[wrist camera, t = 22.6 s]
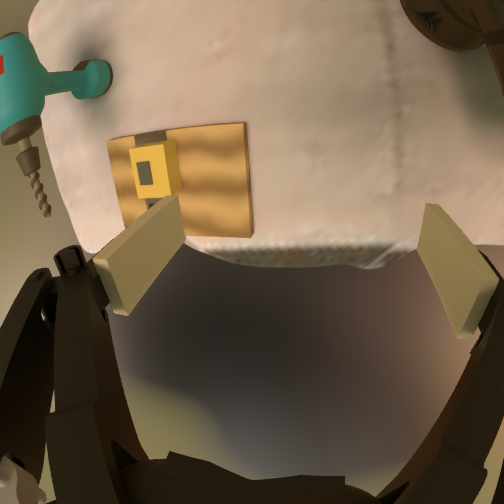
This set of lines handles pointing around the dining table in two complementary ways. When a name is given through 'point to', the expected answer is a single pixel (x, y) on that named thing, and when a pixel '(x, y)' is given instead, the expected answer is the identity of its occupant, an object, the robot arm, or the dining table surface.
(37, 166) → the power drill
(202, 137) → the subfloor panel
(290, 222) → the dining table surface
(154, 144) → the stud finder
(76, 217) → the dining table surface
